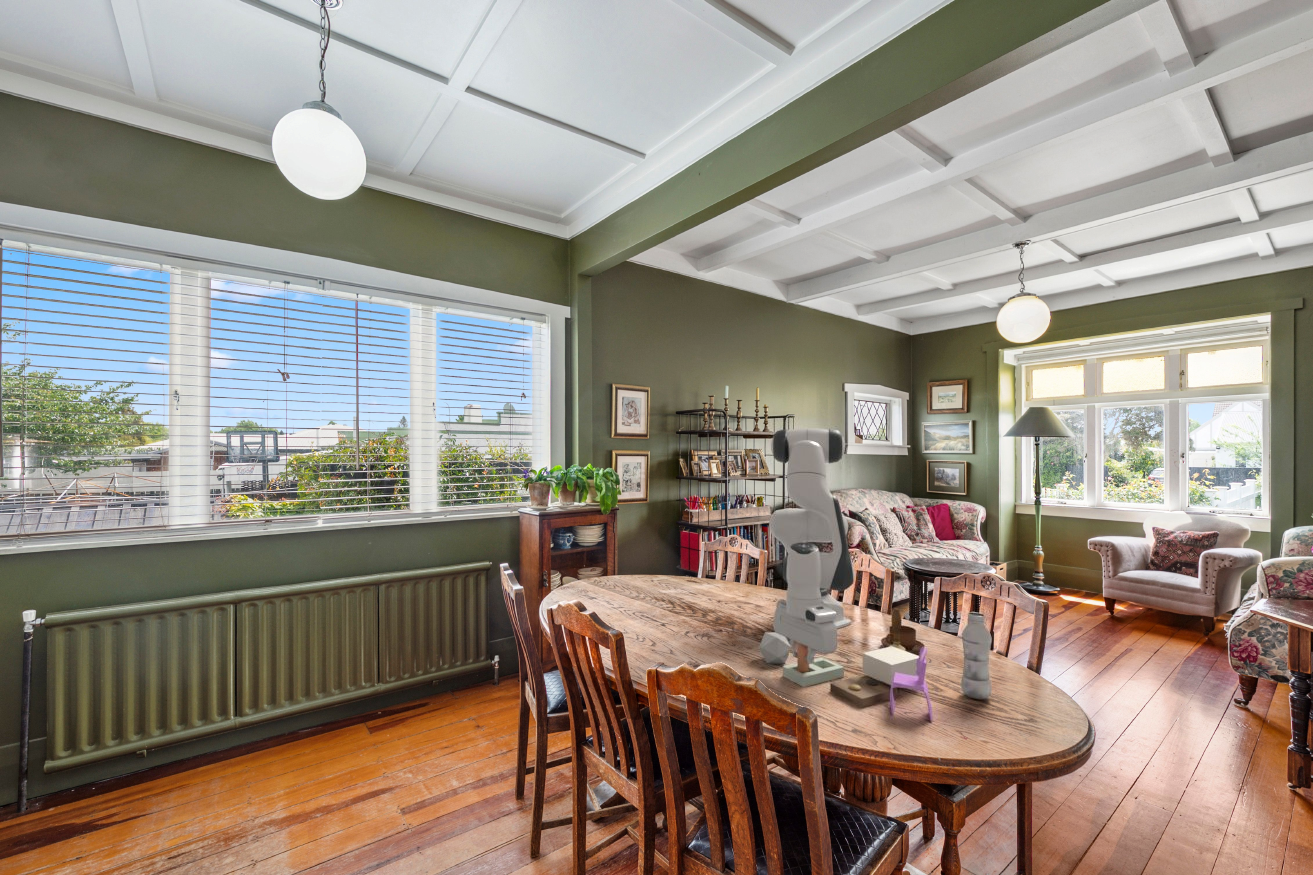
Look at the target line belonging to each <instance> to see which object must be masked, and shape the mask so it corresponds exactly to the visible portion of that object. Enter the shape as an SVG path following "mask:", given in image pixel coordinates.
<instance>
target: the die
mask: <svg viewBox="0 0 1313 875" xmlns="http://www.w3.org/2000/svg"><path fill="white" fill-rule="evenodd" d="M758 649H759V651H760V653H761V655H762V657H763V659H764V661H765V663H766V664H786V662H787V659H788V657H789V654H790V652H791V650H792V647H791V644H790V641H789V640H788V638H787V637H784V636H782V635H780V634H777V633H776V632H775V631H773V632H771V631H769V632H767V631H766V632H764V633H763V636H762V639H761V641H760V644H759V646H758Z"/></svg>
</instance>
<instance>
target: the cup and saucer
mask: <svg viewBox="0 0 1313 875" xmlns="http://www.w3.org/2000/svg"><path fill="white" fill-rule="evenodd" d="M893 636H894V631H893V627H892V625H891V626H889V633H888V634H887V635H886V636H885V637H883V638H881V640H880V642H881V645H883V647H884V648H887V647H889V646H890V645H893V639H894V638H893ZM900 645H901V646H902V647H904V648H905V649H906V652H909V653H912V654H916V653H920V650H921V648H922V647H925V644H924V643H923V642H921V641H919V640H917V629H916V628H914V627H912V626H908V625H902V624H901V629H900ZM925 648H926V647H925Z"/></svg>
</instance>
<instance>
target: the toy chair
mask: <svg viewBox="0 0 1313 875" xmlns="http://www.w3.org/2000/svg"><path fill="white" fill-rule="evenodd" d="M927 651H928V648H926V647H922V648H921V650H920V652H919V654H918V656H919V658H918V660H917V663H916V666H917V671H916V673H917V674H918V676H912V675H906V674H902V673H896V672H895V676H894V678H893V680H892V685H890V686H891V690H890V699H889V701H890V702H889V703H890V711H891V714H892V715H893V716H894V714H895V709H896V701H895V698H894V697H893V688H901V689H909V690H910V689H911V690H915V691H919V692H922V693H923V694H924V695H925V699H926V704H927V709H928V714H929V719H930V722H931V723H933V716H934V714H933V712H934V711H933V708H932V703H931V700H930V694H929V688H928V687H929V686H928V683H927V682H926V679H925V678H926V669H927V663H928V661H927V659H925V658H926V655H927Z"/></svg>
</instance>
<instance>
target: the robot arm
mask: <svg viewBox="0 0 1313 875" xmlns="http://www.w3.org/2000/svg"><path fill="white" fill-rule="evenodd" d="M845 450H846V442H845V439H844V436H843V434H842V432H841V431H840V430H838V429H834V428H829V429H827V428H816V427H807V428H794V429H786V428H785V429H779V430H777V431H776V432H775V433H774V434H773V437H772V439H771V441H770V451H771V453H772V455H773V459H775V460H776V461H777V462H779V463H783V464H787V468H786V470H787V471H786V489H787V494H788V495H787V496H788V497H789V499H790V500H791V501H792V502H793V503H794V504H795V505H797V506H798V507H799V508H790V507H788V508H782V509H777V510H775V511H774V512H773V513H771V515H770V518H769V521H768V525H769V526H768V527H769V530H770V533H771V534H772V536H773V537H774V538H776V539H777V540H778V541H779V542H780V543H781V544H782V545H783V546H784V548H785V550H786V552H787V555H786V556H785V557H784V558H783V560H782V564H783V565H782V567H783V568H782V569H783V572H782V574H783V575H782V578H783V579H784V581H785V582H786V583H787V588H786V593H785V595H786V596H785V597H786V600H785V599H783V598H780V599H779V600H777V602H776V604H775V606H776V608H775V611H774V616H773V617H774V618H773V630H774V632H776V633H777V634H780V635H782V636H784V637H786V639H789V644H790V646H791V650H792V657H794V658H795V659H797V642H798V643H800V644H803V645H805V646H807V647H808V651H809V653H808V655H805V662H806V663H808V664H812V663H814V659H815V656H816V654H817V652H819V653H822V654H824V655H829V654H833V653H835V652H836V651H837V649H838V629H840V628H844V627H846V626H849V625H851V624H852V620H850V618H848V617H845V613H844V612H845V611H844V608H843V607H844V606H843V605H842V603H840V602H839V601H838V600H837V599H835V598H834V597H833V596H832V595H831V594H830V592H829V590H830V591H836V592H837V591H838V592H844V591H845V590H848V588H850V587H851V586H852V585H853V584H854V582H855V581H854V580H855V578H856V576H855V575H856V571H855V566H854V563H853V560H852V557H851V555H850V554H851V553H850V549H849V544H848V539H847V534H848V531H849V522H848V520H847V518H846V516H845V514H843V513H842V509H841V508H842V507H841V505H840V501H839V500H838V497H837V496H836V495H834V494H832V493H831V490H830V489H829V486H828V484H827V469H826V468H827V466H826V463H828V464H834V463H838V462H839V461H841V460H842V459H843V458H842V457H843V456H844V453H845ZM813 543H832V547H833V550H832V551H831V552H823V551H821V552H820V550H819V547H818V546H817V545H816V544H813Z"/></svg>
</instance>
